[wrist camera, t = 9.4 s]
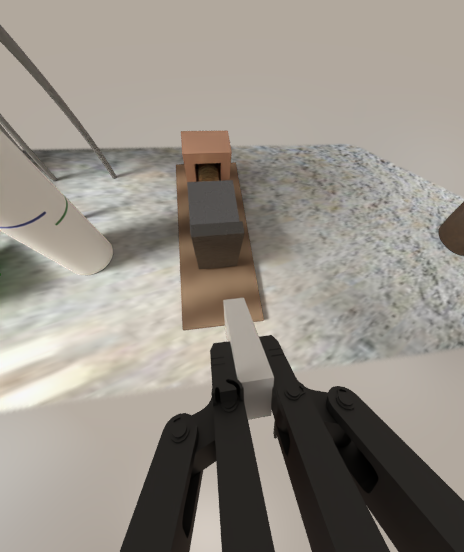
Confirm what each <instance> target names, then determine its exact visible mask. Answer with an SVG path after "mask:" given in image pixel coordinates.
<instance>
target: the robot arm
mask: <svg viewBox="0 0 464 552" xmlns="http://www.w3.org/2000/svg"><path fill="white" fill-rule="evenodd" d="M223 303H224V318H225V331H226V337H227V342H221V343H213V346H212V348H211V350H210V354H211V371H212V398H211V401H210V402H209V404H208V405H207V406H206V407H205V408H204V409H202V410H201V411H199V412H197V413H196V414H194V415H192V416H191V415H189V414H186V413H183V414H178V415H176V416H174V417H172V418H171V419H170V420H169V421H168V423H167V424H166V426H165V428H164V430H163V432H162V435H161V438H160V440H159V443H158V446H157V449H156V452H155V455H154V458H153V460H152V463H151V466H150V468H149V472H148V474H147V477H146V480H145V482H144V485H143V488H142V491H141V494H140V496H139V499H138V502H137V505H136V508H135V510H134V513H133V516H132V519H131V522H130V525H129V527H128V530H127V533H126V536H125V538H124V541H123V544H122V547H121V550H120V552H189V551H190V545H191V538H192V533H193V527H194V521H195V515H196V510H197V503H198V498H199V492H200V486H201V480H202V474H203V470H204V469H205V468H207V467H208V466H209V465H211V464H212V463H214V462H215V461H217V475H218V493H219V509H220V525H221V542H222V552H275V550H274V545H273V541H272V536H271V531H270V526H269V522H268V516H267V511H266V506H265V502H264V497H263V492H262V487H261V482H260V477H259V473H258V467H257V462H256V457H255V452H254V448H253V443H252V438H251V433H250V428H249V424H248V420H249V419H255V418H260V417H265V416H271V410H272V412H273V415H274V419H275V423H274V438H277V437H278V440H279V444H280V447H281V450H282V454H283V457H284V460H285V464H286V467H287V470H288V474H289V477H290V480H291V484H292V487H293V490H294V493H295V497H296V500H297V503H298V507H299V510H300V513H301V517H302V520H303V523H304V526H305V529H306V533H307V536H308V540H309V543H310V547H311V550H312V552H390V551H389V549H388V547H387V545H386V543H385V541H384V539H383V537H382V535H381V533H380V531H379V529H378V527H377V525H376V523H375V521H374V519H373V518H372V516H371V514H370V512H369V510H370V511H371V513H372V514H373V515H374V517H375V518H376V520H377V521H378V523H379V524H380V526H381V527H382V528H383V530H384V531H385V533H386V534H387V536H388V537H389V539H390V540H391V541H392V543H393V544H394V546H395V547H396V549H397V550H398V552H464V501H463V500H462V499H461V498H460V497H459V496H458V495H457V494H456V493H455V492H454V491H453V490H452V489H451V488H450V487H449V486H448V485H447V484H446V483H445V482H444V481H443V480H442V479H441V478H440V477H439V476H438V475H437V474H436V473H435V472H434V471H433V470H432V469H431V468H430V467H429V466H428V465H427V464H426V463H425V462H424V461H423V460H422V459H421V458H420V457H419V456H418V455H417V454H416V453H415V452H414V451H413V450H412V449H411V448H410V447H409V446H408V445H407V444H406V443H405V442H403V440H402V439H401V438H400V437H399V436H398V435H397V434H395V432H393V430H392V429H391V428H389V427H388V425H387V424H386V423H384V422H383V420H381V419H380V418H379V417H378V416H377V415H376V414H375V413H374V412H373V411H372V410H371V409H370V408H369V407H368V406H367V405H366V404H365V403H364V402H363V401H362V400H361V399H360V398H359V397H358V396H357V395H356V394H355V393H354V392H352V391H351V390H349V389H347V388H345V387H340V386H336V387H332V388H331V389H330V390H329V392H328V393H327V392H321V391H315V390H311V389H308V388H306V387H305V386H304V385H303V384H301V383H300V382H299V381H298V380H297V379H296V377H295V375H294V373H293V371H292V369H291V367H290V365H289V363H288V361H287V359H286V357H285V355H284V353H283V350H282V349H281V346H280V344H279V342H278V341H277V340H276V339H275V338H274V337H273V336H272V335H269V336H262V337H259V336H258V334H257V331H256V328H255V326H254V323H253V320H252V318H251V315H250V313H249V310H248V307H247V305H246V302H245V299H244V298H237V299H227V300H223ZM366 505H367V506H366ZM367 507H368V508H369V510H368V508H367Z"/></svg>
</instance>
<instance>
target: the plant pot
mask: <svg viewBox="0 0 464 552" xmlns="http://www.w3.org/2000/svg"><path fill="white" fill-rule="evenodd" d="M439 236H440V239H441V241H442V242H443V244H444V245H445V246H446V247H447V248H448V249H449V250H451V251H452V252H454V253H456V254H459V255H463V256H464V202H463V203H462V204H461V205H460V206H459V207H458V208H457V209H456V210H455V211H454V212H453V213H452V214H451V215H450V216H449V217H448V218H447V220H446V221H445V222H444V223H443V224H442V225H441V227H440V228H439Z"/></svg>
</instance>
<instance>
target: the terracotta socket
mask: <svg viewBox="0 0 464 552" xmlns="http://www.w3.org/2000/svg"><path fill="white" fill-rule="evenodd" d="M181 139H182V155H183V161H184V166H185V172H186V177H187V182H199V175H198V168H197V165H196V164H204V163H218V167H217V169H218V177H219V181H224V180H230V167H231V153H232V152H231V147H230V141H229V136H228V131H181Z"/></svg>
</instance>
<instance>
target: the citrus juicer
mask: <svg viewBox="0 0 464 552" xmlns="http://www.w3.org/2000/svg"><path fill="white" fill-rule="evenodd" d="M0 42H1V43H2V44H3V45H4V46H5V47H6V48H7V49H8V50H9V51H10V52H11V53H12V54H13V55H14V56H15V57H16V58H17V60H19V62H20V63H21V64H22V65H23V66H24V67H25V68H26V69H27V70H28V72H29V73H30V74H31V75H32V76H33V77H34V78H35V79H36V81H37V82H38V83H39V84H40V85H41V86H42V87H43V88H44V90H45V91H46V92H47V93H48V94H49V95H50V97H51V98H52V99H53V100H54V101H55V102H56V104H57V105H58V106H59V107H60V108H61V109H62V111H63V112H64V113H65V115H66V116H67V117H68V118H69V119H70V121H71V122H72V123H73V124H74V125H75V127H76V128H77V129H78V131H79V132H80V133H81V134H82V136H83V137H84V138H85V140H86V141H87V142H88V144H89V145H90V146H91V148H92V149H93V150H94V152H95V153H96V154H97V156H98V157H99V159H100V160H101V161H102V163H103V164H104V166H105V167H106V169H107V170H108V172H109V173H110V175H111V176H112V178H116V175H115V173H114V171H113V170H112V168H111V166H110V165H109V163H108V162H107V160H106V158H105V157H104V156H103V154H102V153H101V151H100V150H99V148H98V147H97V146H96V144H95V143H94V141H93V140H92V138H91V137H90V136H89V134H88V133H87V132H86V130H85V129H84V128H83V126H82V125H81V123H80V122H79V121H78V119H77V118H76V117H75V116H74V114H73V113H72V111H71V110H70V109H69V107H68V106H67V105H66V104H65V102H64V101H63V100H62V98H61V97H60V96H59V95H58V94H57V92H56V91H55V90H54V88H53V87H52V86H51V85H50V83H49V82H48V81H47V80H46V78H45V77H44V76H43V75H42V74H41V72H40V71H39V70H38V69H37V67H36V66H35V65H34V64H33V63H32V62H31V60H30V59H29V58H28V57H27V56H26V54H25V53H24V52H23V51H22V49H21V48H20V47H19V46H18V45H17V43H16V42H15V41H14V40H13V39H12V38H11V37H10V35H9V34H8V33H7V32H6V31H5V30H4V28H3V27H2V26H1V25H0ZM0 123H1V124H2V125H3V126H4V127H5V128H6V130H7V131H8V132H9V133H10V134H11V135H12V136H13V137H14V139H15V140H16V141H17V142H18V143H19V144H20V145H21V147H22V148H23V149H24V150H25V151H26V152H27V153H28V154H29V156H30V157H31V158H32V159H33V160H34V161H35V162H36V163H37V164H38V166H39V167H40V168H41V169H42V170H43V171H44V172H45V173H46V174H47V175H48V176H49V177H50V178H51V179H52V180H53V181H55V180H56V179H57V178H56V177H55V176H54V175H53V174H52V173H51V172H50V171H49V170H48V168H47V167H46V166H45V165H44V164H43V163H42V162H41V161H40V159H39V158H38V157H37V156H36V155H35V154H34V153H33V151H32V150H31V149H30V148H29V147H28V146H27V145H26V143H24V141H23V140H22V139H21V138H20V136H19V135H18V134H17V133H16V132H15V131H14V129H13V128H12V127H11V126H10V125H9V124H8V122H7V121H6V120H5V119H4V118H3V117H2V115H1V114H0ZM0 130H1V131H2V132H3V133H4V134H5V135H6V136H7V137H8V138H9V139H10V140H11V141H12V142H13V143H14V144H15V145H16V146H17V147H18V149H19V150H20V151H21V152H22V153H23V154H24V152H23V151H22V150H21V149H20V148H19V146H18V145H17V144H16V143H15V142H14V140H13V139H12V138H11V137H10V136H9V134H8V133H7V132H6V131H5V129H4V128H3V127H2V126H1V125H0ZM24 155H25V154H24ZM25 156H26V155H25ZM26 157H27V156H26ZM27 158H28V157H27ZM28 159H29V158H28ZM29 160H30V159H29Z"/></svg>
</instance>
